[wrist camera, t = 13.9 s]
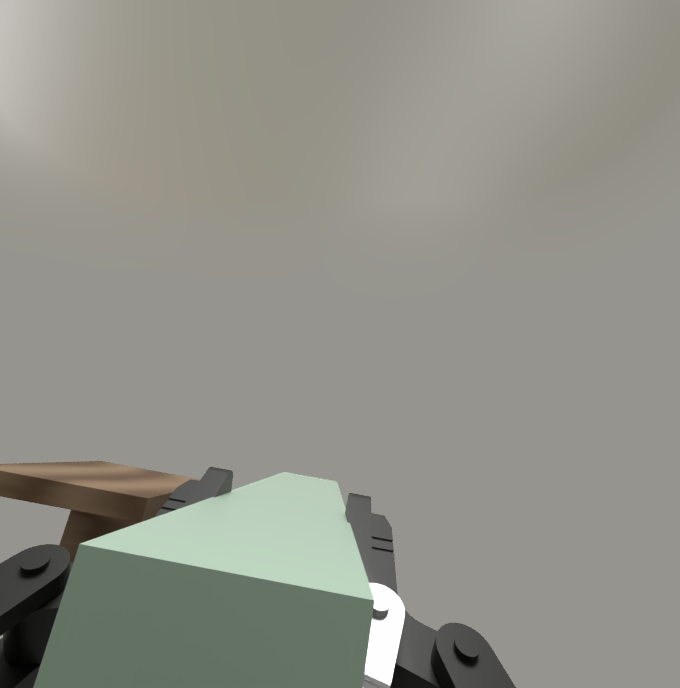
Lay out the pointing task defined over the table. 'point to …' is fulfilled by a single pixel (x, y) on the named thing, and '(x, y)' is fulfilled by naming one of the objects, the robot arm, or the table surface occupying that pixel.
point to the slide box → (219, 597)
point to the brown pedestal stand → (90, 494)
